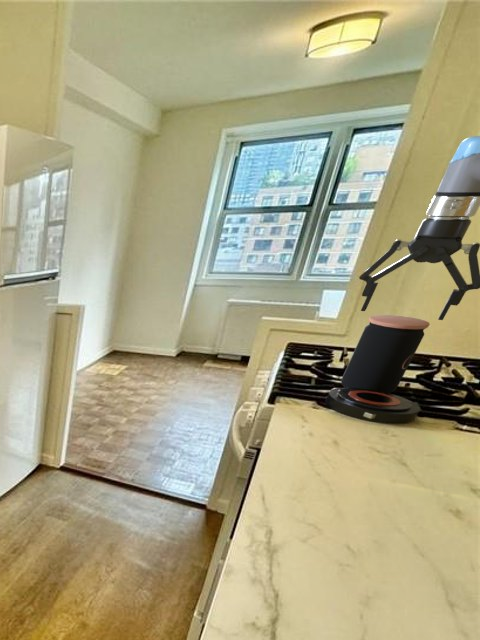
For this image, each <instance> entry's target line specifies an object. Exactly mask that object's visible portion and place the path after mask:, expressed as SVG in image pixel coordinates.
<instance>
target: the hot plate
mask: <svg viewBox="0 0 480 640" xmlns="http://www.w3.org/2000/svg"><path fill="white" fill-rule="evenodd" d="M324 404H325V405H326V407H327V408H329V409H330V410H331V411H332V410H333V412H334V411H335V412H336V413H339V414H342V415H344V416H347V417H349V418H354V419H357V420H362V421H366V422H371V423H378V424H386V425H404V424H405V425H406V424H411V423H413V422H414V421H415V420H416V418H417V416H418V414H419V413H420V411H421V407H420V405H418V404H417V403H416V402H414V401H412V400H410V399H408V398H405V397H402V396H399V395H397V394H393V393H386V392H382V391H377V390H370V389H362V388H344V387H337V388H333V389H331V390H329V391H328V393H327V396H326V398H325V401H324Z"/></svg>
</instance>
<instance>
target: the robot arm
mask: <svg viewBox="0 0 480 640" xmlns="http://www.w3.org/2000/svg"><path fill="white" fill-rule="evenodd" d="M479 208H480V135H476V136H475V135H474V136H469V137H467V138H465V139H464V140H462V141H461V142H460V144H459V145H458V147H457V149H456V152H455V153H454V155H453V156H452V158H451V160H450V161H448V166H447V168H446V170H445V173H444V175H443V177H442V179H441V181H440V184H439V186H438V188H437V191H436V192H435V194H434V196H433V198H432V199H431V203H430V204H429V207H428V209H427V211H426V213H425V216H426V217H427V218H424V219H423V220H422V221H421V223H420V226H419V228H418V230H417V232H416V233H415V236H414V238H413V239H412V240H411V241H406V240H402V239H401V238H400V239H396V240H395V241H394V242H393V243H392V244H391V246H390V248H389V250H387V251H386V252H385V253H384V254H382V256H381V257H380V258H378V259H377V260H376V261H374V263H373V264H372V265H371V266H369V267H368V269H366V270H365V271H364V272H363V273H361V275H359V280H361V281H364V282H365V283H366V284H365V286H364V288H363V290H362V293H361V297H365V300H364V303H363V305H362V307H361V309H360V312H366V310H367V308H368V306H369V304H370V302H371V300H372V297H373V296H374V293H375V291H376V289H377V286H378V284H379V282H377V281H379V280H380V279H383V277H385V276H387V275H389V274H390V273H392V272H394V271H395V270H398V269H399V268H400V267H402V266H404V265H405V264H407V263H410V262H411V261H412V260H413V261H414V262H415V263H429V264H438V263H441V262H442V263H443V265H444V267H445V268H446V270H447V271H448V274H449V275H450V276H451V278H452V280H453V281H454V283H455V285H456V286H457V288H458V289H456V288H454V289H452V292H451V293H450V295H449V297H448V299H447V301H446V302H445V305H444V307H443V309H442V310H441V312H440V314H439V316H438V318H437V320H438V321H443V320H444V319H445V317H446V316H447V313H448V312H449V310H450V308H451V306H459V305H460V303H461V301H462V299H463V298H464V296H465V295H466V293H467V292H468V291H473V290H479V289H480V265H479V257H478V252H479V250H480V242H474V243H463V242H462V241H463V239H464V237H465V235H466V234H467V232H468V229H469V227H470V225H471V223H472V222H473V221H472V219H470V218H472V217H475V216H476V214H477V212H478V210H479ZM404 248H407V249H408V251H409V254H407V255H406V256H404V257H403V258H401V259H399V260H398V261H396V262H394V263H392V264H391V265H389V266H387V267H386V268H384V269H382V270H381V271H379V272H378V273H376V274H374V275H373V276H371V274H372V273H373V272H374V271H376V270H377V269H378V268H379V267H381V266H382V265H383V263H385V262H386V261H387V260H389V258H391V256H393V254H395V253H396V251H402V250H403V249H404ZM460 250H462V251H463V254H464V255H468V256H467V258H468V265H469V273H470V278H471V283H467V282H466V280H465V278H464V277H463V275H462V273H461V271H460V269H459V267H458V266H457V265H456V263H455V262H454V259H453V258H452V255H454V254H456V253H457V252H459V251H460Z"/></svg>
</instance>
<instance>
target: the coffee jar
mask: <svg viewBox="0 0 480 640" xmlns="http://www.w3.org/2000/svg"><path fill="white" fill-rule="evenodd" d="M368 322H369V324H367V325H365V326H364V329H363V331H362V333H361V335H360V337H359V340H358V342H357V344H356V346H355V349H354V351H353V353H352V355H351V358H350V360H349V362H348V364H347V366H346V369H345V370H344V373H343V375H342V376H341V381H340V383H341V385H342V386H341V387H342V388H362V389H370V390H377V391H382V392H386V393H390V394H393V392H395V391H396V390H397V389H398V387H399V385H400V383H401V381H402V379H403V377H404V375H405V373H406V371H407V369H408V368H409V365H410V363H411V362H412V359H413V357H414V356H415V354H416V352H417V350H418V348H419V346H420V344H421V343H422V340H423V339H424V337H425V332H424V330H425V329H428V328H429V327H430V324H431V323H430V322H429V321H427V320H424V319H421V318H416V317H410V316H405V315H394V314H393V315H392V314H377V315H370V316H369V319H368Z"/></svg>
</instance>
